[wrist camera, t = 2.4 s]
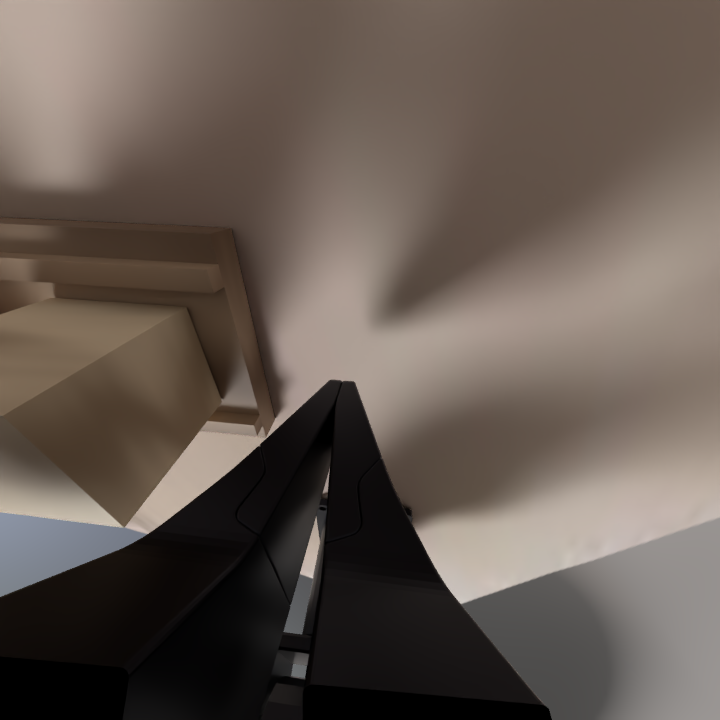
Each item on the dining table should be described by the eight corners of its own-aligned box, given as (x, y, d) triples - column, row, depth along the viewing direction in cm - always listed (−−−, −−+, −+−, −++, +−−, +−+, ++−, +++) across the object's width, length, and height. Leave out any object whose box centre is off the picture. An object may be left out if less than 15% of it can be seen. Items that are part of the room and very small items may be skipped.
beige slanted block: (222, 401, 11) (124, 527, 7) (115, 391, 11) (-39, 507, 7) (186, 306, 9) (2, 416, 5) (51, 297, 9) (-236, 392, 5)
